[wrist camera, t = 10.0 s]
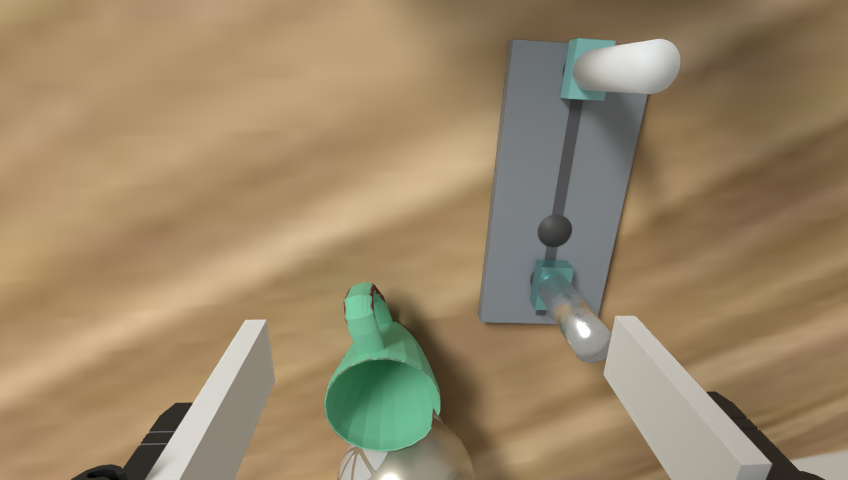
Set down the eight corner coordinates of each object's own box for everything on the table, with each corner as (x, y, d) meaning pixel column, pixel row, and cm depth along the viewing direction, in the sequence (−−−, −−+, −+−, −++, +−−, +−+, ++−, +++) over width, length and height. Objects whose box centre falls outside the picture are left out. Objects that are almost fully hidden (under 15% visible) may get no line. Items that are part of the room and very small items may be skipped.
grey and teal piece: (509, 38, 36) (561, 18, 24) (648, 47, 37) (764, 32, 25) (477, 314, 45) (504, 397, 33) (590, 317, 46) (654, 399, 34)
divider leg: (536, 259, 41) (580, 318, 31) (567, 260, 41) (621, 319, 31) (529, 300, 42) (569, 370, 32) (559, 301, 43) (608, 370, 32)
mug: (441, 368, 47) (451, 439, 38) (354, 386, 47) (342, 461, 38) (412, 246, 42) (415, 293, 33) (314, 267, 42) (289, 320, 33)
